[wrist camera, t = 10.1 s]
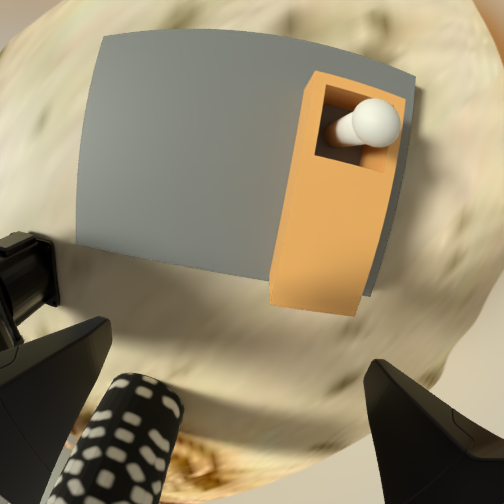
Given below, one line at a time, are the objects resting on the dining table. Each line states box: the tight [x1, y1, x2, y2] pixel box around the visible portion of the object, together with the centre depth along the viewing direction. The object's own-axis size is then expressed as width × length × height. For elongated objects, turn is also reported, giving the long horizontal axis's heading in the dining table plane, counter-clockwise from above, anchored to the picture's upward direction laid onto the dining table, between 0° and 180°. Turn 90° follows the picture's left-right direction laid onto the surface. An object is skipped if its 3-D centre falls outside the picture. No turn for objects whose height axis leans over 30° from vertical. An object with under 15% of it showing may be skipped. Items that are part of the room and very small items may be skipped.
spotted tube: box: [46, 373, 184, 504], centre depth 16 cm, size 8×8×20 cm
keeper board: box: [76, 29, 416, 297], centre depth 13 cm, size 16×22×9 cm
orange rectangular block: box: [269, 71, 406, 316], centre depth 15 cm, size 12×5×4 cm, turn 170°
